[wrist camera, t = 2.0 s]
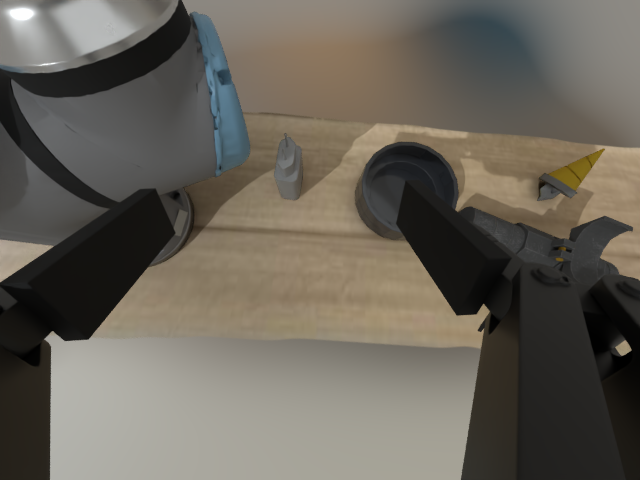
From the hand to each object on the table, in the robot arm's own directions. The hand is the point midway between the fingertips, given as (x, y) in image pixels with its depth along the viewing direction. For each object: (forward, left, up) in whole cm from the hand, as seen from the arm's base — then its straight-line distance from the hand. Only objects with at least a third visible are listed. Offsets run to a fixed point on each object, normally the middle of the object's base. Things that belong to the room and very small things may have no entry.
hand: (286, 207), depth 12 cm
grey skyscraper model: (-5, +11, -24) cm, 27 cm away
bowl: (+12, +14, -24) cm, 30 cm away
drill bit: (+37, +25, -24) cm, 50 cm away
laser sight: (+33, +11, -24) cm, 42 cm away
